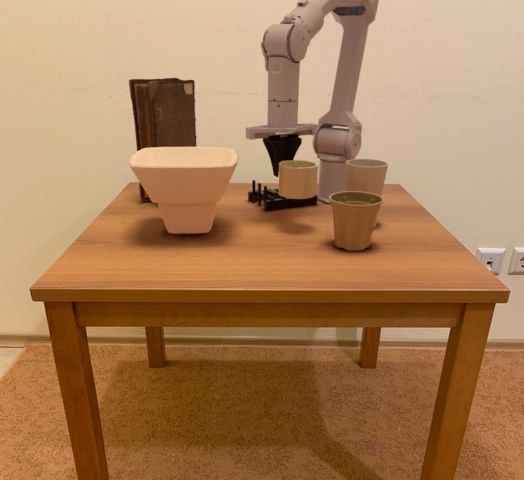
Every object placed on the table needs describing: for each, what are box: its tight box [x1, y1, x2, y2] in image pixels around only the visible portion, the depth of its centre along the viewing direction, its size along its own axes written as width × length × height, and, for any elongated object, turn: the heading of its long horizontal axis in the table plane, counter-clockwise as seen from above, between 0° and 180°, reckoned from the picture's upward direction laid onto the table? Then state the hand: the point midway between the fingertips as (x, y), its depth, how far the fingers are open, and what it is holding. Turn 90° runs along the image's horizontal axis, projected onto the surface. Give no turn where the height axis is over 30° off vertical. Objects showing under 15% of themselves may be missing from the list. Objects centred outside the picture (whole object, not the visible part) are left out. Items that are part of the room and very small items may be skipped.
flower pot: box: [329, 191, 385, 252], centre depth 91 cm, size 9×9×9 cm
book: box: [128, 77, 197, 203], centre depth 114 cm, size 17×7×25 cm, turn 144°
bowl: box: [128, 146, 239, 235], centre depth 96 cm, size 19×19×14 cm
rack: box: [247, 179, 318, 212], centre depth 116 cm, size 13×10×5 cm
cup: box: [346, 158, 389, 228], centre depth 101 cm, size 8×8×12 cm
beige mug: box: [277, 159, 319, 199], centre depth 97 cm, size 11×7×6 cm, turn 25°
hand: (281, 175), depth 102 cm, fingers closed on beige mug
